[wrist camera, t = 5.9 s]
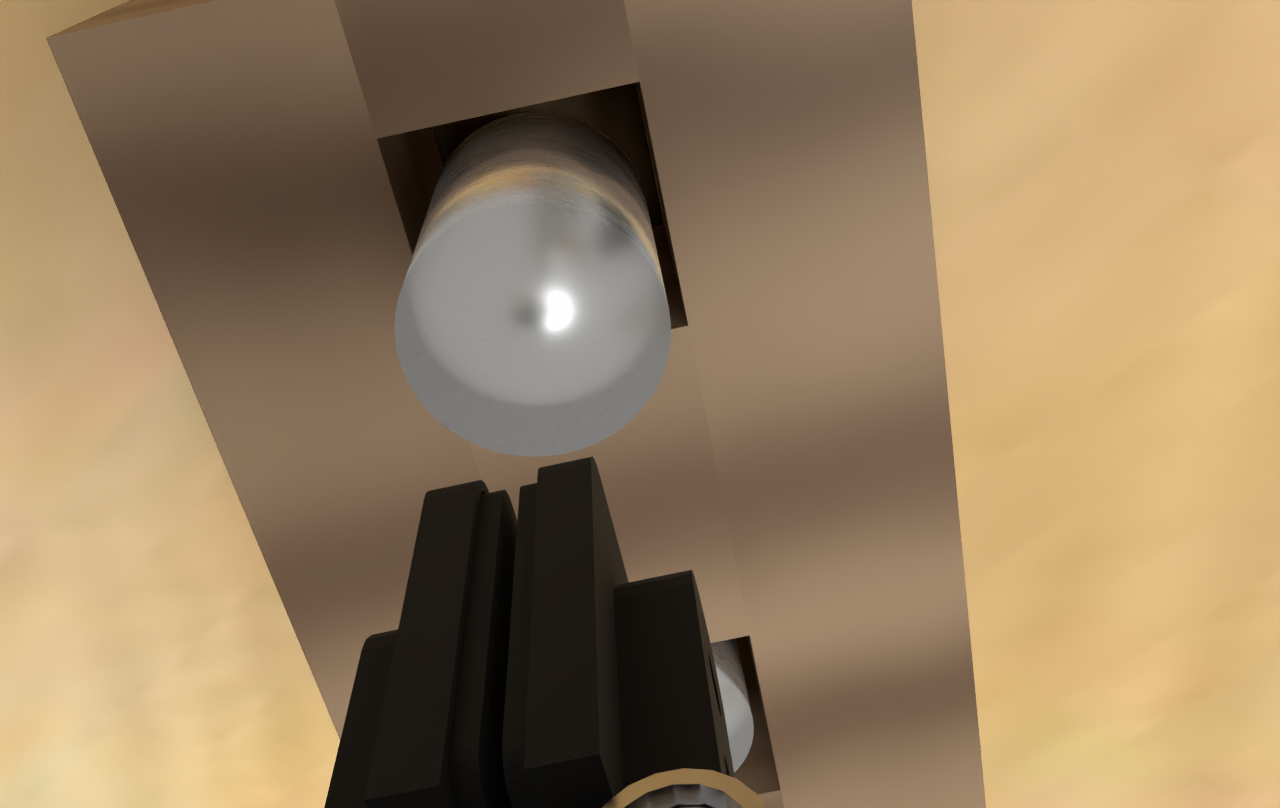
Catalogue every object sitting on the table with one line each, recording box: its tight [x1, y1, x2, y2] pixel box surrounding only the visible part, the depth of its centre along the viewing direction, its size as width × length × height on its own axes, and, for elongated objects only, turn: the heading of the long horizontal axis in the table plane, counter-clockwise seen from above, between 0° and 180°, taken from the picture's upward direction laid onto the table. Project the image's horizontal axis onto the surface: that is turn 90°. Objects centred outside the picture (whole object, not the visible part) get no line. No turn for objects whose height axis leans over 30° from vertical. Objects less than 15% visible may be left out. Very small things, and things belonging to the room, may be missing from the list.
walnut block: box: [46, 0, 986, 808], centre depth 27 cm, size 22×14×6 cm, turn 11°
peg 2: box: [711, 638, 754, 773], centre depth 29 cm, size 4×4×6 cm
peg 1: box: [395, 112, 671, 457], centre depth 20 cm, size 4×4×6 cm
